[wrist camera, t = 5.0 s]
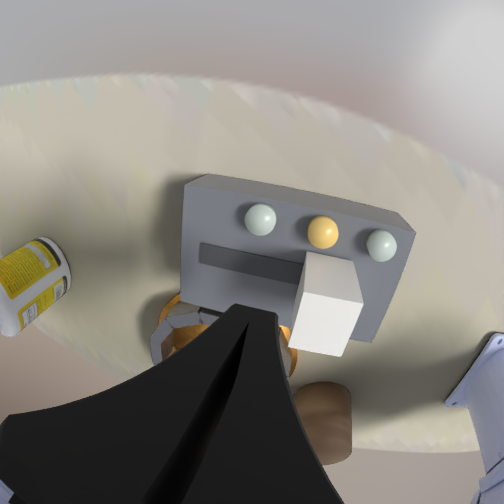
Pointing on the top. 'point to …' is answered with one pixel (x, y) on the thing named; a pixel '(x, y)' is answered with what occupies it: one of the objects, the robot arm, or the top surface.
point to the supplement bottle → (30, 283)
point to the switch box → (284, 247)
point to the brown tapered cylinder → (326, 419)
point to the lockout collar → (199, 331)
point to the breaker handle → (325, 305)
